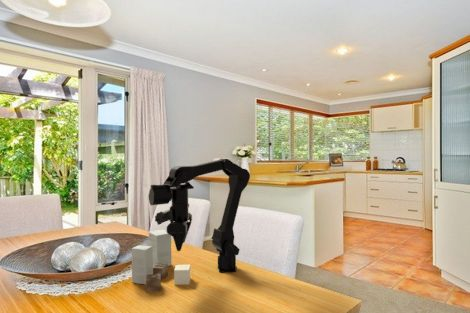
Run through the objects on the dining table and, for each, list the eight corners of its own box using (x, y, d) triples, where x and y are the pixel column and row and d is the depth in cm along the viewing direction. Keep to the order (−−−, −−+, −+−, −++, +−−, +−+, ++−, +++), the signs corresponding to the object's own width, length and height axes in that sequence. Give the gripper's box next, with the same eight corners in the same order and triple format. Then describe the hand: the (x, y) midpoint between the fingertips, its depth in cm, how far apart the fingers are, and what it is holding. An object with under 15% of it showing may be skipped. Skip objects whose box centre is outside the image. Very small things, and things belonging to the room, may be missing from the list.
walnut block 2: (160, 285, 102) (160, 272, 102) (160, 291, 98) (160, 278, 98) (146, 286, 101) (146, 274, 101) (146, 292, 97) (145, 279, 97)
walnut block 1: (167, 274, 111) (167, 263, 111) (162, 279, 107) (162, 267, 107) (156, 273, 112) (156, 262, 112) (150, 278, 108) (150, 267, 108)
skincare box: (153, 280, 106) (153, 246, 106) (146, 285, 102) (145, 249, 102) (139, 277, 108) (138, 244, 108) (131, 282, 104) (130, 248, 104)
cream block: (190, 278, 108) (190, 264, 108) (189, 284, 103) (188, 269, 103) (176, 278, 107) (176, 264, 107) (174, 284, 102) (174, 270, 102)
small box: (171, 265, 120) (171, 232, 120) (156, 269, 116) (156, 235, 116) (162, 260, 127) (162, 229, 127) (148, 263, 123) (148, 231, 123)
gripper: (162, 198, 115) (163, 239, 115) (150, 207, 96) (151, 256, 96) (191, 198, 115) (192, 238, 115) (185, 206, 96) (186, 255, 96)
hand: (180, 246), depth 106 cm, fingers open, 9 cm apart
